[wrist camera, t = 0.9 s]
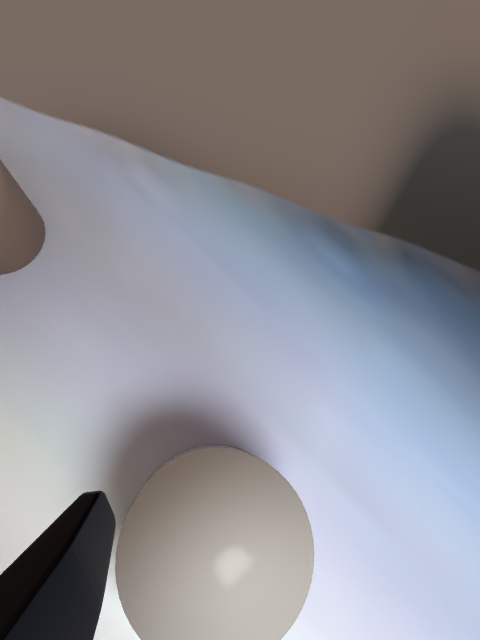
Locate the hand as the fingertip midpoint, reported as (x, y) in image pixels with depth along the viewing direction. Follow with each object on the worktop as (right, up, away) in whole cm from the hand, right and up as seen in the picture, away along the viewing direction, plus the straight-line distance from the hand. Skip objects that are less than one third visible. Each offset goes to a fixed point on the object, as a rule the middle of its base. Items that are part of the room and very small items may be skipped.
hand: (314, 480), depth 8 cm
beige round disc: (-3, -7, +11) cm, 13 cm away
